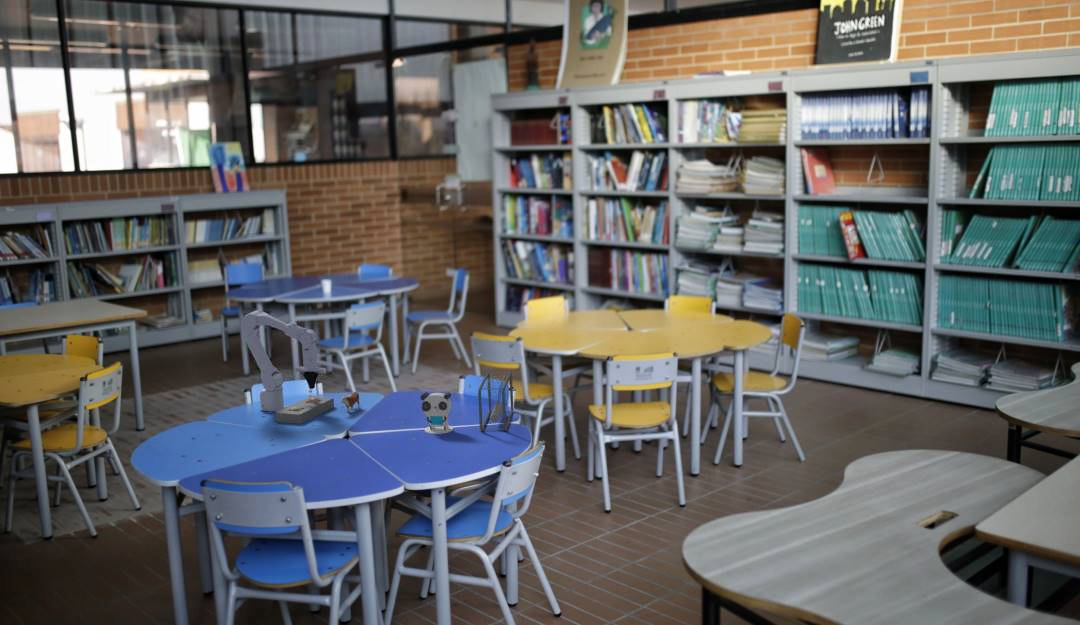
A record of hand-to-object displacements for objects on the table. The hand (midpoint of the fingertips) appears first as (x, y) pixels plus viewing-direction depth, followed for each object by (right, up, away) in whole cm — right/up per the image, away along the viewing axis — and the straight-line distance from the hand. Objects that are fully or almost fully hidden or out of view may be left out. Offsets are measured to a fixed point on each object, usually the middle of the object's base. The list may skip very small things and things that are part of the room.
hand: (312, 388), depth 418 cm
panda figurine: (+59, -14, -34) cm, 69 cm away
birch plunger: (-3, -11, -12) cm, 17 cm away
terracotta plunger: (+1, -8, 0) cm, 8 cm away
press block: (-1, -11, -6) cm, 12 cm away
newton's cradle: (+82, -12, -26) cm, 87 cm away
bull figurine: (+18, -10, -3) cm, 21 cm away
